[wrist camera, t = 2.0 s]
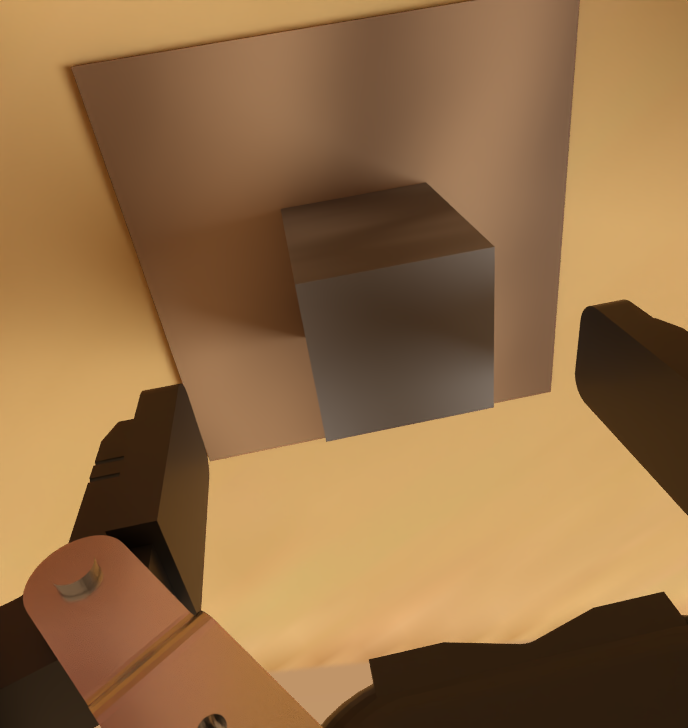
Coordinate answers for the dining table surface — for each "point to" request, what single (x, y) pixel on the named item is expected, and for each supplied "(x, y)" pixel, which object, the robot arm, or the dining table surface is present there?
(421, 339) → the lid
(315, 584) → the dining table surface
